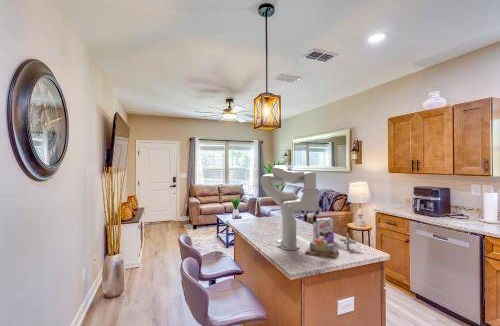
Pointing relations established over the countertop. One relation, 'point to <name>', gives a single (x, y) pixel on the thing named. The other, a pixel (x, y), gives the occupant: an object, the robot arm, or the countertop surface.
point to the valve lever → (319, 240)
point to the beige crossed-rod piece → (347, 241)
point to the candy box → (324, 229)
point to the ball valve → (322, 247)
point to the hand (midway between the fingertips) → (310, 221)
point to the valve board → (321, 254)
